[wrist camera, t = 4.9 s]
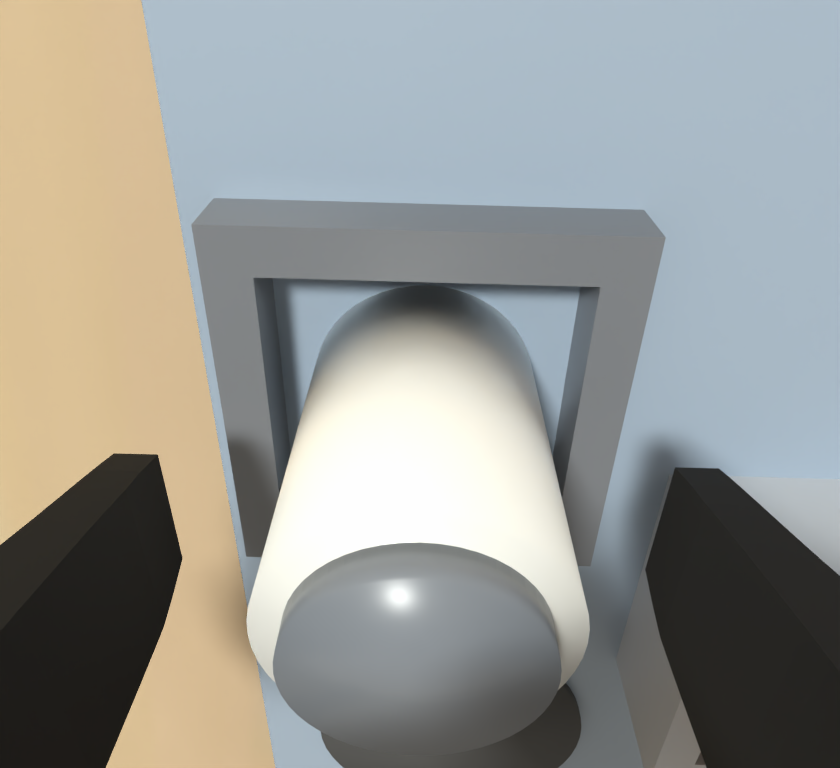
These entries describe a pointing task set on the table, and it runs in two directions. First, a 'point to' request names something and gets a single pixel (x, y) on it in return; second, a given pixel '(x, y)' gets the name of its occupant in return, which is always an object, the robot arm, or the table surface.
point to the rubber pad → (493, 764)
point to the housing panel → (531, 260)
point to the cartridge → (420, 536)
